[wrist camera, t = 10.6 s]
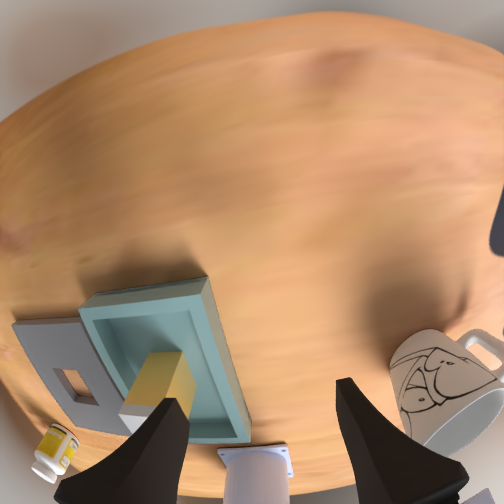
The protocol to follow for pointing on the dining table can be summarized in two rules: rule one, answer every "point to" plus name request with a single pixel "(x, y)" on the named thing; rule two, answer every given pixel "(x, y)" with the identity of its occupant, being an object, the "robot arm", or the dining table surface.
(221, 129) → the dining table surface
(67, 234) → the dining table surface
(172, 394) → the block
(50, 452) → the supplement bottle
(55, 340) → the socket block
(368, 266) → the dining table surface
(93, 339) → the parts tray
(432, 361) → the mug
